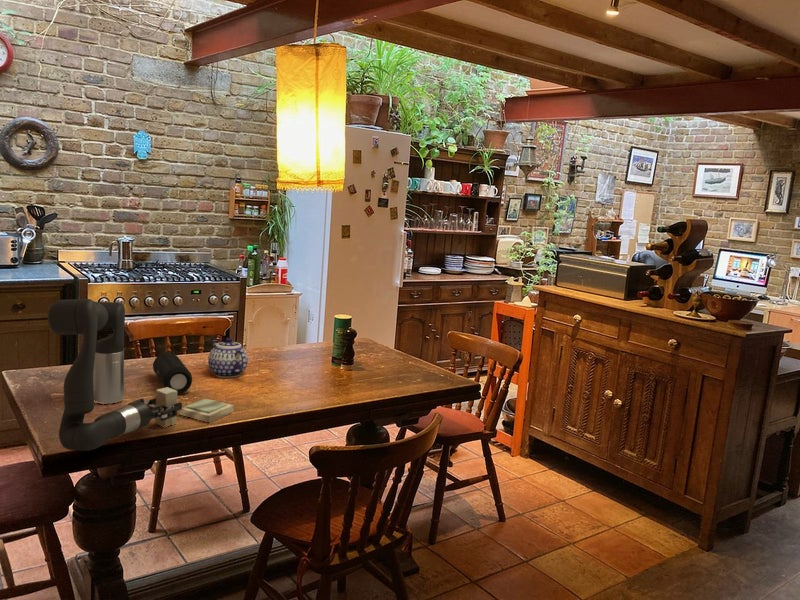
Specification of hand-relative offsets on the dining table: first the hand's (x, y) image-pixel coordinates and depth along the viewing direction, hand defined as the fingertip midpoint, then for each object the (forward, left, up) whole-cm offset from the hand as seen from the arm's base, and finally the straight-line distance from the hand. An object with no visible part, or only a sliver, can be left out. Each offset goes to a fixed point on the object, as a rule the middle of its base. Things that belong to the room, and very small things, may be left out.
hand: (170, 402), depth 198 cm
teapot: (-18, +51, -7) cm, 55 cm away
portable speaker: (-25, +28, -7) cm, 38 cm away
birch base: (+4, +12, -7) cm, 14 cm away
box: (0, -2, -7) cm, 7 cm away
